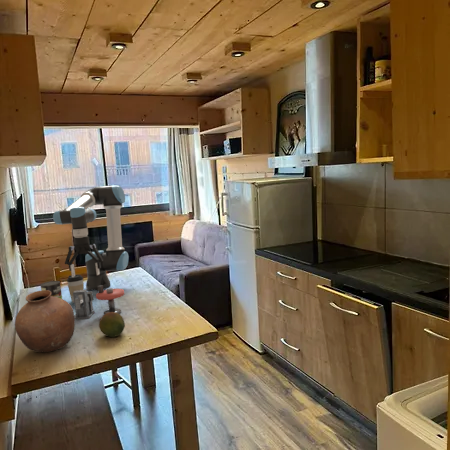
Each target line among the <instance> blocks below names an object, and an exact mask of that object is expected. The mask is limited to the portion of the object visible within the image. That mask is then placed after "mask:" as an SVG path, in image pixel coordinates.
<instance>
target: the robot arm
mask: <svg viewBox="0 0 450 450" xmlns="http://www.w3.org/2000/svg"><path fill="white" fill-rule="evenodd" d="M124 191H125V190H124V189H123V187H122V186H120V185H115V184H114V185H113V184H112V185H104V186H95V187H93V188H90V189H88V190H86V191H84V192H83V193H81V195H80V196H79V197H80V198H77V199H76V200H75V201H74V202H72V203H71V204H70V205H68V206H67V207H66V208H64V209H63V210H56V211H54V213H53V215H52V219H53V222H54V223H55V224H56V225H62V226H63V225H71V229H72V236H73V246H72V245H70V246H69V247H68V252H67V254H66V258H65V261H64V264H65V265H68V269H69V270H68V271H70V272H71V273H70V274H71V276H72V277H74V276H75V275H76V270H75V264H74V262H75V260H76V258H77V257H78V255H82V254H83V255H85V260H84V261H85V266H86V274H87V278H86V284H85V290H87V291H98V287H97V286H99V285H103V289H104V288H105V289H108V288H110V287H111V284H112V283H111V281H110V278H109V276H108V274H107V272H108V271H109V272H110V271H113V272H115V271H117V272H118V271H124V270H126V268H127V266H128V265H129V257H130V256H129V253H128V252H127V251H125V250H126V249H125V247H123V238H122V237H123V236H122V223H121V209H122V207H123V204H124V203H125V202H126V194H125V192H124ZM98 205H99V206H100V205H101V206H103V208H104V209H105V212H106V231H107V233H106V234H107V244H108V245H107V248H106V250H105V251H104V250H100V249H99V250H98V248H97V246H96V244H95V243H93V244H90V239H89V238H90V237H89V236H88V235H89V229H88V223H92V222H94V221H95V220H96V219H97V215H98V214H97V212H96V210H95V209H94V208H91V207H93V206H98ZM91 249H92V251H91ZM74 250H75V253H74V254H73V256H72V253H73V251H74ZM105 289H104V290H105Z"/></svg>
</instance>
